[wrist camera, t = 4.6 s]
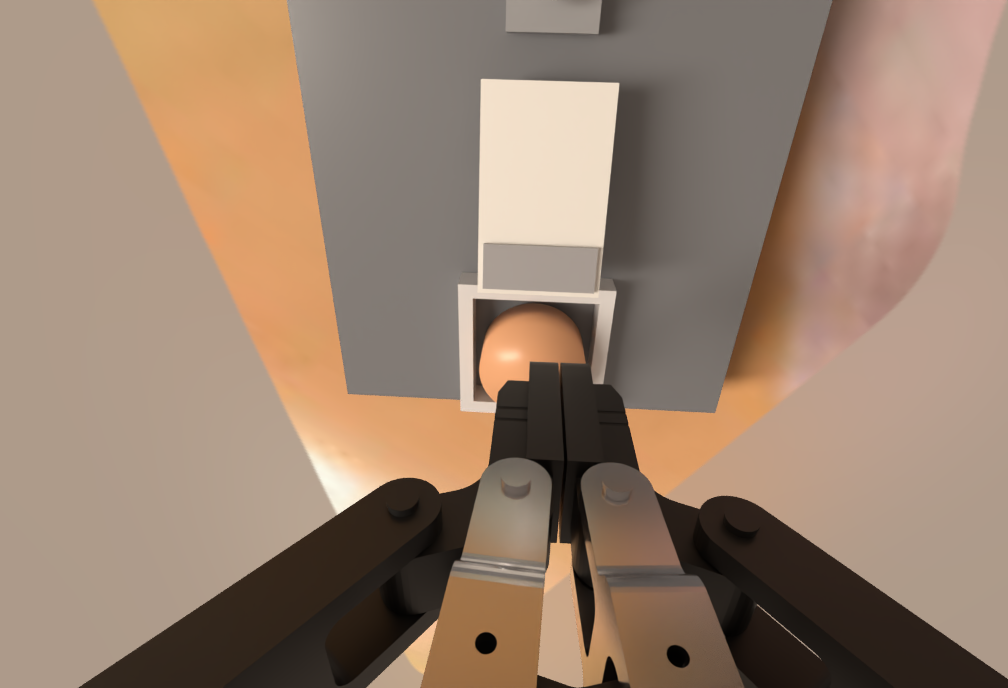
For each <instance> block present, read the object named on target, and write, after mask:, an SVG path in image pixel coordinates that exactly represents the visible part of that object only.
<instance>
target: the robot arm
mask: <svg viewBox="0 0 1008 688" xmlns="http://www.w3.org/2000/svg"><path fill="white" fill-rule="evenodd" d="M558 522H559V538H560V543H571V551H572V562H571V571H570V581H571V589H572V596H573V603H574V609H575V617H576V625H577V632H578V638H579V646H580V653H581V660H582V669H583V687H581V688H1008V679H1007V678H1005V677H1004V676H1003V675H1001V674H1000V673H998V672H997V671H995V670H994V669H993V668H991V667H990V666H988V665H987V664H985V663H984V662H982V661H981V660H979V659H978V658H977V657H975V656H974V655H972V654H971V653H970V652H968V651H967V650H965V649H964V648H962V647H961V646H959V645H958V644H957V643H955V642H954V641H952V640H951V639H949V638H948V637H947V636H945V635H944V634H942V633H941V632H939V631H938V630H936V629H935V628H934V627H932V626H931V625H929V624H928V623H926V622H925V621H924V620H922V619H920V618H919V617H918V616H916V615H915V614H913V613H912V612H910V611H909V610H908V609H906V608H905V607H903V606H902V605H900V604H899V603H897V602H896V601H895V600H893V599H892V598H890V597H889V596H887V595H886V594H885V593H883V592H882V591H880V590H879V589H877V588H876V587H875V586H873V585H872V584H870V583H869V582H867V581H866V580H865V579H863V578H862V577H860V576H859V575H857V574H856V573H854V572H853V571H852V570H850V569H849V568H847V567H846V566H844V565H843V564H842V563H840V562H839V561H837V560H836V559H834V558H833V557H832V556H830V555H828V554H827V553H826V552H824V551H823V550H821V549H820V548H819V547H817V546H816V545H814V544H813V543H811V542H810V541H809V540H807V539H806V538H804V537H803V536H801V535H800V534H799V533H797V532H796V531H794V530H793V529H791V528H790V527H788V526H787V525H786V524H784V523H783V522H781V521H780V520H778V519H777V518H775V517H774V516H772V515H771V514H770V513H768V512H767V511H765V510H764V509H763V508H761V507H759V506H758V505H756V504H754V503H752V502H750V501H748V500H745V499H742V498H738V497H733V496H718V497H714V498H711V499H709V500H707V501H706V502H705V503H704V504H703V505H702V506H701V508H700V509H697V508H694V507H691V506H687V505H684V504H681V503H678V502H675V501H672V500H669V499H667V498H665V497H663V496H662V495H660V494H658V493H657V492H655V491H654V489H653V487H652V485H651V483H650V481H649V480H648V479H647V478H646V477H645V476H644V475H643V474H642V473H641V472H640V471H639V467H638V462H637V458H636V454H635V450H634V445H633V441H632V437H631V433H630V428H629V427H628V420H627V416H626V414H625V407H624V403H623V399H622V397H621V396H620V394H619V393H618V392H617V391H616V390H615V389H614V388H613V387H612V386H611V385H609V384H593V379H592V373H591V367H590V364H582V363H560V370H559V364H558V363H555V362H531V361H530V366H529V381H515V380H508V381H507V382H506V383H505V384H504V385H503V387H502V388H501V389H500V390H499V391H498V396H497V404H496V412H495V420H494V428H493V436H492V444H491V452H490V460H489V465H488V468H487V469H486V470H485V471H484V472H483V474H482V477H481V478H480V479H479V480H478V481H477V482H475V483H474V484H472V485H470V486H468V487H466V488H463V489H460V490H456V491H451V492H446V493H441V494H439V492H438V491H437V489H436V488H435V487H434V486H433V485H432V484H430V483H428V482H427V481H424V480H421V479H417V478H401V479H396V480H393V481H390V482H387V483H385V484H384V485H382V486H380V487H379V488H377V489H376V490H374V491H373V492H371V493H370V494H368V495H367V496H365V497H364V498H362V499H361V500H359V501H358V502H356V503H355V504H353V505H352V506H350V507H349V508H347V509H346V510H344V511H343V512H341V513H340V514H338V515H337V516H335V517H334V518H332V519H331V520H329V521H328V522H326V523H325V524H323V525H322V526H320V527H319V528H317V529H316V530H314V531H313V532H311V533H310V534H308V535H307V536H305V537H304V538H302V539H301V540H300V541H298V542H296V543H295V544H293V545H292V546H290V547H289V548H287V549H286V550H284V551H283V552H281V553H280V554H278V555H277V556H275V557H274V558H272V559H271V560H269V561H268V562H266V563H265V564H263V565H262V566H260V567H259V568H257V569H256V570H254V571H253V572H251V573H250V574H248V575H247V576H245V577H244V578H242V579H241V580H239V581H238V582H236V583H235V584H233V585H232V586H230V587H229V588H227V589H226V590H224V591H223V592H221V593H220V594H218V595H217V596H215V597H214V598H212V599H211V600H209V601H208V602H206V603H205V604H203V605H202V606H200V607H199V608H197V609H196V610H194V611H193V612H191V613H190V614H188V615H187V616H185V617H184V618H182V619H181V620H179V621H178V622H176V623H175V624H173V625H172V626H170V627H169V628H167V629H166V630H164V631H163V632H161V633H160V634H158V635H157V636H155V637H154V638H152V639H151V640H149V641H148V642H146V643H145V644H143V645H142V646H140V647H139V648H137V649H136V650H134V651H133V652H131V653H130V654H128V655H127V656H125V657H124V658H122V659H121V660H119V661H118V662H116V663H115V664H113V665H112V666H110V667H109V668H107V669H106V670H104V671H103V672H101V673H100V674H98V675H97V676H95V677H94V678H92V679H91V680H89V681H88V682H86V683H85V684H83V685H82V686H80V687H79V688H366V687H367V686H368V685H369V684H370V683H371V682H372V681H373V680H375V678H377V677H378V675H380V674H381V673H382V672H383V671H384V670H385V669H386V668H387V667H388V666H389V665H390V664H391V663H392V662H393V661H394V660H395V659H396V658H397V657H399V655H400V654H402V653H403V652H404V651H405V650H406V649H407V648H408V647H409V646H410V645H411V644H412V643H413V642H414V641H415V640H416V639H417V638H418V637H419V636H420V635H421V634H423V633H424V632H425V631H426V630H427V629H428V628H429V627H430V626H431V625H432V624H433V623H434V622H435V621H436V620H437V619H438V622H437V626H436V630H435V634H434V637H433V641H432V645H431V649H430V653H429V657H428V661H427V664H426V668H425V672H424V676H423V680H422V684H421V688H575V687H571V686H567V685H565V684H562V683H559V682H556V681H553V680H550V679H547V678H545V677H542V676H539V675H537V673H538V672H537V671H538V660H539V647H540V632H541V620H542V607H543V594H544V581H545V572H546V570H547V568H548V565H549V555H550V543H557V532H558ZM757 604H758V605H759V606H760V607H762V608H763V609H764V610H765V611H766V612H767V613H769V614H770V615H771V616H772V617H773V618H775V619H776V620H777V621H778V622H779V623H780V624H782V625H783V626H784V627H785V628H786V629H787V630H789V631H790V632H791V633H792V634H793V635H795V636H796V637H797V638H798V639H799V640H800V641H802V642H803V643H804V644H805V645H807V646H808V647H809V648H810V649H811V650H813V652H815V653H816V654H817V655H818V656H819V657H820V658H821V659H820V658H818V657H817V656H816V655H815V654H813V652H811V651H810V650H809V649H808V648H807V647H805V646H804V645H803V644H802V643H801V642H799V641H798V640H797V639H796V638H795V637H794V636H793V635H791V634H790V633H789V632H788V631H786V630H785V629H784V628H783V627H782V626H781V625H780V624H778V623H777V622H776V621H775V620H774V619H772V618H771V617H770V616H769V615H768V614H767V613H765V612H764V611H763V610H762V609H761V608H760V607H758V606H757Z"/></svg>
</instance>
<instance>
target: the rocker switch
mask: <svg viewBox="0 0 1008 688" xmlns="http://www.w3.org/2000/svg"><path fill="white" fill-rule="evenodd" d="M618 93H619V83H605V82H570V81H536V80H502V79H481V101H480V164H479V227H478V290H477V293H499V294H522V295H544V296H567V297H590V298H598V297H599V286H600V276H601V266H602V256H603V246H604V235H605V225H606V215H607V205H608V195H609V184H610V174H611V164H612V154H613V144H614V133H615V123H616V113H617V103H618Z"/></svg>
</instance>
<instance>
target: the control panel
mask: <svg viewBox="0 0 1008 688" xmlns="http://www.w3.org/2000/svg"><path fill="white" fill-rule="evenodd" d="M832 1H833V0H287V5H288V11H289V17H290V24H291V30H292V37H293V43H294V50H295V56H296V62H297V69H298V75H299V82H300V88H301V95H302V101H303V107H304V114H305V120H306V127H307V133H308V140H309V146H310V153H311V159H312V165H313V172H314V178H315V185H316V191H317V198H318V204H319V210H320V217H321V223H322V230H323V236H324V243H325V249H326V255H327V262H328V268H329V275H330V281H331V288H332V294H333V301H334V307H335V313H336V320H337V326H338V333H339V339H340V346H341V352H342V358H343V365H344V371H345V378H346V384H347V391H348V394H359V395H379V396H398V397H417V398H436V399H456V400H460V402H461V411H469V412H488V413H495V412H496V404H497V403H496V402H495V401H493V400H492V399H491V398H490V396H489V395H488V394H487V393H486V391H485V389H484V387H483V385H482V383H481V379H480V374H479V366H480V359H481V354H482V348H483V343H484V338H485V334H486V332H487V329H488V328H489V326H490V324H491V323H492V322H493V320H494V319H495V318H496V317H497V316H498V315H500V314H501V313H502V312H504V311H506V310H507V309H509V308H512V307H514V306H518V305H521V304H528V303H537V304H544V305H548V306H551V307H554V308H556V309H558V310H560V311H562V312H563V313H565V314H566V315H567V316H568V317H570V318H571V319H572V321H573V322H574V323H575V324H576V326H577V328H578V330H579V332H580V334H581V338H582V343H583V349H584V356H585V362H586V364H590V367H591V373H592V379H593V384H609V385H611V386H612V387H613V388H614V389H615V390H616V391H617V392H618V393H619V394H620V396H621V397H622V399H623V403H624V407H625V408H629V409H648V410H667V411H687V412H706V413H715V411H716V408H717V404H718V401H719V397H720V394H721V390H722V387H723V383H724V380H725V376H726V373H727V369H728V366H729V362H730V359H731V355H732V352H733V348H734V344H735V341H736V337H737V334H738V330H739V327H740V323H741V320H742V316H743V313H744V309H745V306H746V302H747V299H748V295H749V292H750V288H751V285H752V281H753V278H754V274H755V271H756V267H757V264H758V260H759V257H760V253H761V250H762V246H763V243H764V239H765V236H766V232H767V229H768V225H769V222H770V218H771V215H772V211H773V208H774V204H775V201H776V197H777V194H778V190H779V187H780V183H781V180H782V176H783V173H784V169H785V166H786V162H787V159H788V155H789V151H790V148H791V144H792V141H793V137H794V134H795V130H796V127H797V123H798V120H799V116H800V113H801V109H802V106H803V102H804V99H805V95H806V92H807V88H808V85H809V81H810V78H811V74H812V71H813V67H814V64H815V60H816V57H817V53H818V50H819V46H820V43H821V39H822V36H823V32H824V29H825V25H826V22H827V18H828V15H829V11H830V8H831V4H832ZM481 79H502V80H536V81H570V82H605V83H619V93H618V103H617V113H616V123H615V133H614V144H613V154H612V164H611V174H610V184H609V195H608V205H607V215H606V225H605V235H604V246H603V256H602V266H601V276H600V286H599V297H598V298H590V297H567V296H544V295H522V294H499V293H477V290H478V227H479V164H480V101H481Z"/></svg>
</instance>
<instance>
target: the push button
mask: <svg viewBox="0 0 1008 688" xmlns="http://www.w3.org/2000/svg"><path fill="white" fill-rule="evenodd" d="M530 361H531V362H555V363H558V364H559V370H560V363H582V364H586V362H585V356H584V349H583V343H582V338H581V334H580V332H579V330H578V328H577V326H576V324H575V323H574V322H573V321H572V319H571V318H570V317H568V316H567V315H566V314H565V313H563V312H562V311H560V310H558V309H556V308H554V307H551V306H548V305H544V304H537V303H528V304H521V305H518V306H514V307H512V308H509V309H507V310H506V311H504V312H502V313H501V314H500V315H498V316H497V317H496V318H495V319H494V320H493V322H492V323H491V324H490V326H489V328H488V329H487V332H486V334H485V338H484V343H483V348H482V354H481V359H480V366H479V374H480V379H481V383H482V385H483V387H484V389H485V391H486V393H487V394H488V395H489V396H490V398H491V399H492V400H493V401H495V402H496V403H497V396H498V391H499V390H500V389H501V388H502V387H503V385H504V384H505V383H506V382H507V381H508V380H515V381H529V366H530Z"/></svg>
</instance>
